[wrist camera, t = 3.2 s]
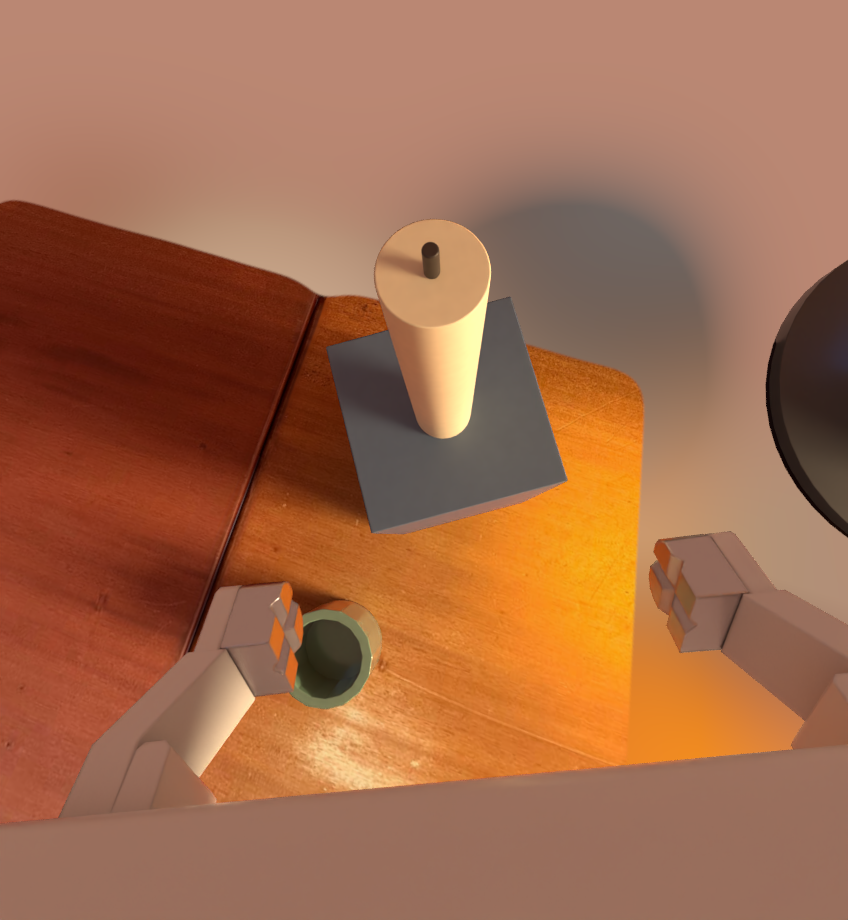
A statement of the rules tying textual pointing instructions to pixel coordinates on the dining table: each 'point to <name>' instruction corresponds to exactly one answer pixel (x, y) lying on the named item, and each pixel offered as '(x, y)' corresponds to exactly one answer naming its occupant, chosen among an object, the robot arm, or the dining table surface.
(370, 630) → the holder
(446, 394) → the taper
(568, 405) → the dining table surface
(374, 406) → the riser
